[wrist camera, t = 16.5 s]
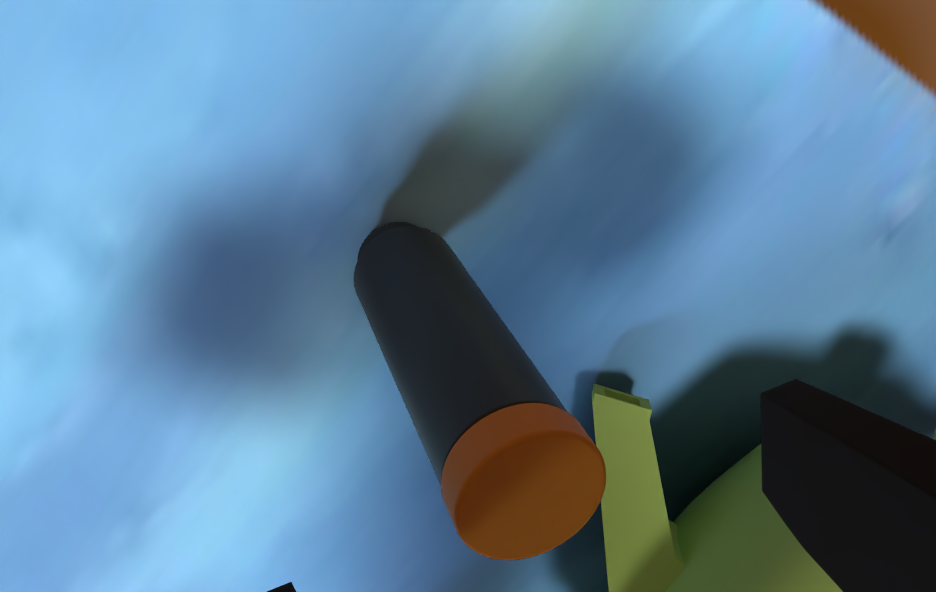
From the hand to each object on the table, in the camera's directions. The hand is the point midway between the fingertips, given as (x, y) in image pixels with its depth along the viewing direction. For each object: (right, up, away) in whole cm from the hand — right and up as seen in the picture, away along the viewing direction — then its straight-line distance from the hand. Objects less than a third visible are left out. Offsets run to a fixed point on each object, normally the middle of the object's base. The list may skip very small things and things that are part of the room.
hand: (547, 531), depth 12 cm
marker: (-3, +5, +8) cm, 9 cm away
